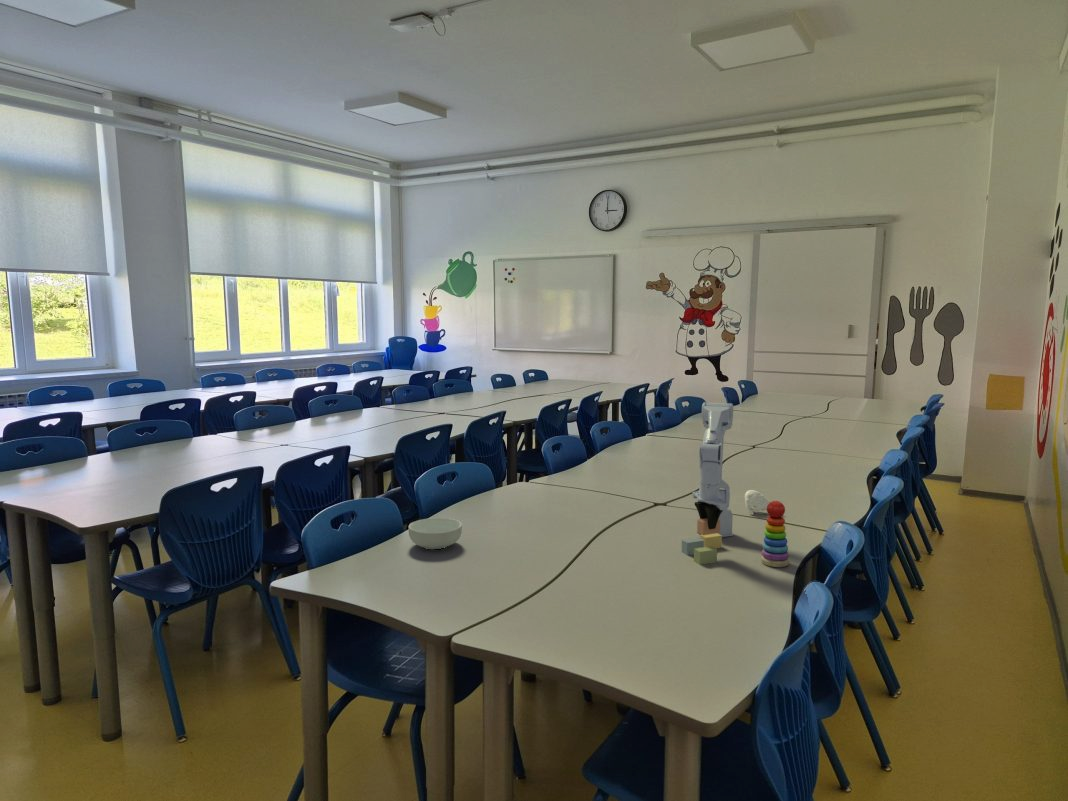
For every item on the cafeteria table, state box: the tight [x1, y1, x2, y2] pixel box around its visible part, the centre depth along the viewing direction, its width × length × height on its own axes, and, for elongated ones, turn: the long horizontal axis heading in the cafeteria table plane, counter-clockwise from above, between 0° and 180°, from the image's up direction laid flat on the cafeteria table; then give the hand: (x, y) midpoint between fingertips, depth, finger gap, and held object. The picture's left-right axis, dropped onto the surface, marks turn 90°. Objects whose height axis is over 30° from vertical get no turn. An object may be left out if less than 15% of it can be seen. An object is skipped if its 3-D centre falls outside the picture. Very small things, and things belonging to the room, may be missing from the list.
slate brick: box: [681, 537, 704, 556], centre depth 205 cm, size 6×3×4 cm, turn 111°
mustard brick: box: [699, 533, 723, 549], centre depth 209 cm, size 6×3×4 cm, turn 111°
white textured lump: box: [744, 489, 772, 516], centre depth 244 cm, size 6×8×12 cm
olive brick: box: [693, 546, 718, 566], centre depth 197 cm, size 6×3×4 cm, turn 111°
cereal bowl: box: [408, 517, 463, 550], centre depth 211 cm, size 17×17×7 cm
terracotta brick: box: [696, 518, 720, 535], centre depth 201 cm, size 6×3×4 cm, turn 111°
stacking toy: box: [760, 500, 790, 568], centre depth 194 cm, size 8×8×19 cm
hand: (708, 526), depth 201 cm, fingers closed on terracotta brick, 3 cm apart
